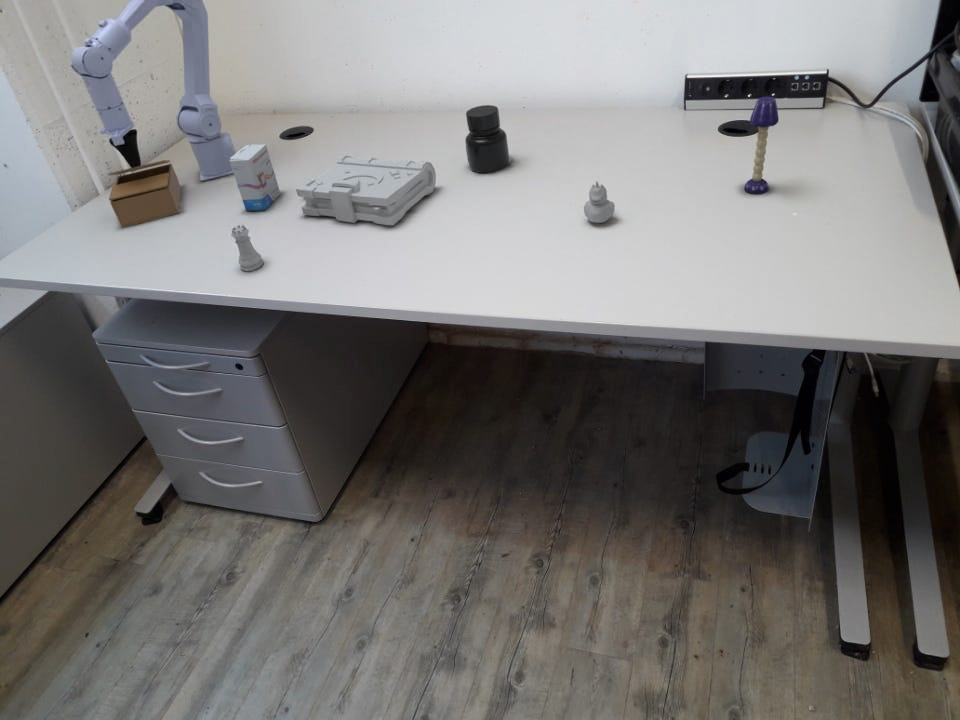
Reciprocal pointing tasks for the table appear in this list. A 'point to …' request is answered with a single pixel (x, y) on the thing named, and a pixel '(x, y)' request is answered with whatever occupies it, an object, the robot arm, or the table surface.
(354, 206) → the book
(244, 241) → the rook chess piece
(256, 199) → the ink box
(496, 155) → the ink bottle
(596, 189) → the rubber duck
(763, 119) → the toy lamp
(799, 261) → the table surface
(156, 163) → the flap
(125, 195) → the bin
